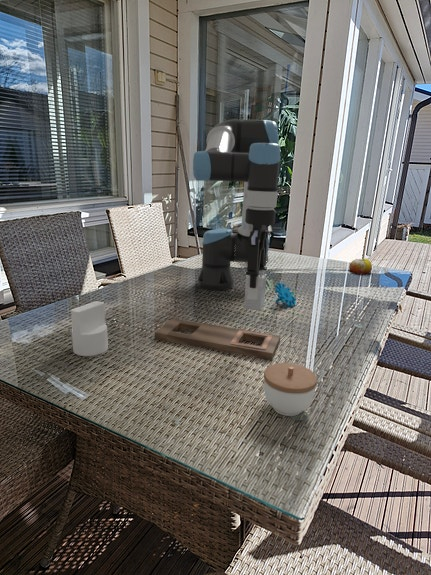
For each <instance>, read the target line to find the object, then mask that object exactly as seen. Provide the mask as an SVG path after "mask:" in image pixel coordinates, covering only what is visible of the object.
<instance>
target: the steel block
mask: <svg viewBox="0 0 431 575" xmlns="http://www.w3.org/2000/svg"><path fill="white" fill-rule="evenodd" d="M259 275H260V278H259V292H258V300H253V299H247V296H248V280H249V275H246V276H245V285H244V286H245V287H244V301H243V302H244V304H243V310H244V309H245V310H250V311H256V312H258V311H259V312H261V311H262V309H263V308H264V307H265V300H266V299H265V296H266V284H267V273H264V274H260V273H259Z"/></svg>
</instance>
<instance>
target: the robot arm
mask: <svg viewBox="0 0 431 575" xmlns="http://www.w3.org/2000/svg"><path fill="white" fill-rule="evenodd" d="M278 128H279V127H278V124H277V123H276V122H275V121H273V120H267V119H237V118H236V119H235V118H233V119H232V118H231V119H228V120H224V121H221V122H219V123H217V124H216V125H214V126H212V128H210V130H209V132H208V134H207V135H206V148H205V150H200V151H195V152H194V153H193V158H192V174H193V178H194V179H195V180H200V181H205V182H208V181H211V182H212V181H214V182H216V181H217V182H241V183H242V182H243V194H242V197H243V198H242V199H243V200H242V214H241V225H240V226H239V227H238V229H237V231H236V232H233V230H232V229H231V228H215V229H210V230H209V229H208V230H206V231H205V232H204V233H203V236H202V237H203V238H202V243H201V244H202V258H201V260H202V262H201V263H202V264H201V269H200V271H199V274H198V278H197V286H198V287H199V288H202V289H203V290H209V291H210V290H211V291H225V290H230V289H232V288H233V287H234V282H235V280H234V276H233V274H232V270H231V262H235V263H247V268H246V272H245V275H246V276H247V275H249V280H248V296H247V299H253V300H258V292H259V278H260V275H259V273H260V274H265V272H264V271H267V270H268V267H267V262H266V257H267V254H268V255H269V247H270V246H269V243H270V237H271V235H270V236H269V235H268V233H269V231H270V230H268V229H267V226H272V225H274V224H276V223H275V222H276V214H277V211H276V210H275V208H276V207H277V205H278V204H277V201H278V184H279V183H278V182H279V173H280V163H281V162H280V161H281V146H280V144H279V142H280V141H279V130H278Z"/></svg>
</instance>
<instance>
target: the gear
mask: <svg viewBox="0 0 431 575" xmlns="http://www.w3.org/2000/svg"><path fill="white" fill-rule="evenodd" d="M290 290H291V288H290V286H287V284H285V283H281V282H278V283H277V284H275V289H274V292H276V293H277V294H276V297H277V299H276V300H275V303H279V302H281V303H282V304H285V306H286V307H290V308H293V307H294V305H296V304H297V302H296V300H297V298H296V296H294V295H295V293H296V292H295V291H294V290H292V291H290ZM285 302H286V303H285Z"/></svg>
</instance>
